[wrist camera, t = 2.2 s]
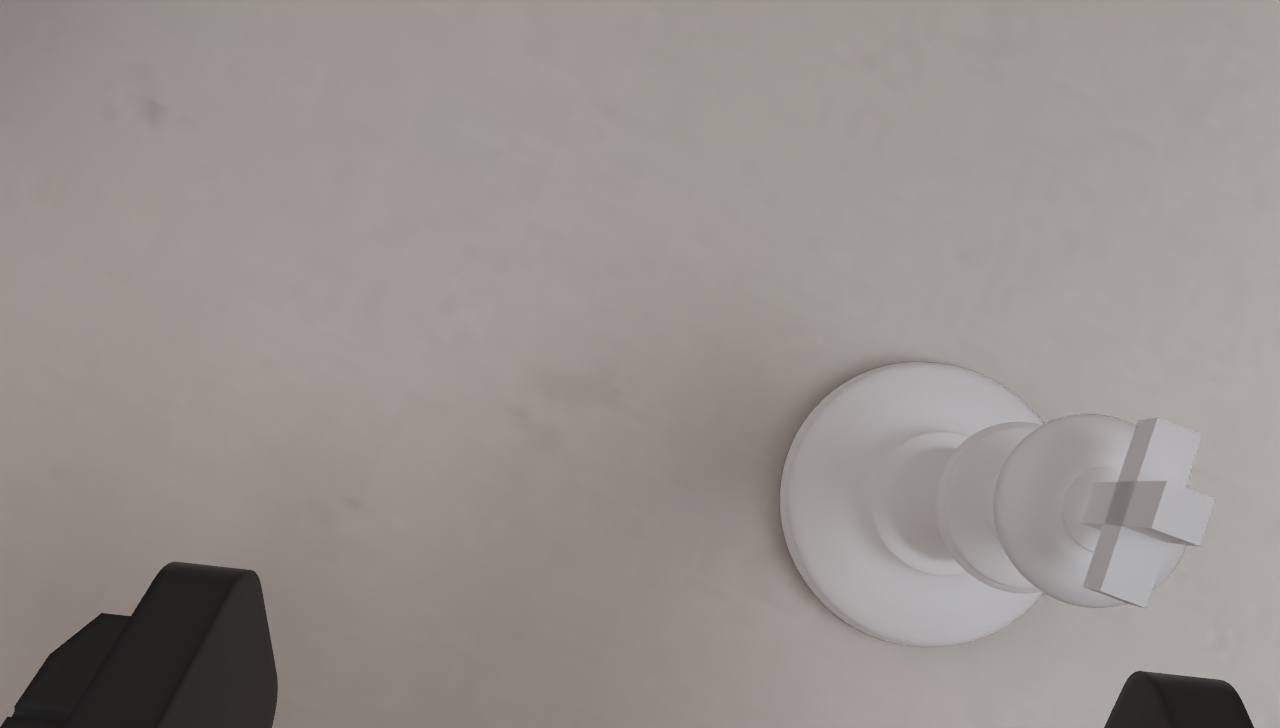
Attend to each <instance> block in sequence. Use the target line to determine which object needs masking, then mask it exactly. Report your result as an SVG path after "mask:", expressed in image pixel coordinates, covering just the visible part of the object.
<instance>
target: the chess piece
mask: <svg viewBox="0 0 1280 728" xmlns="http://www.w3.org/2000/svg"><path fill="white" fill-rule="evenodd" d="M1202 436H1203V434H1201V433H1198V432H1196V431H1193V430H1190V429H1187V428H1185V427H1182V426H1179V425H1176V424H1174V423H1171V422H1168V421H1165V420H1163V419H1160V418H1152V419H1145V420H1138V422H1137V425H1136V426H1135V425H1133V424H1131V423H1129V422H1127V421H1124V420H1121V419H1118V418H1115V417H1111V416H1105V415H1098V414H1079V415H1072V416H1066V417H1062V418H1059V419H1056V420H1053V421H1051V422H1049V423H1046V424H1043V423H1042V421H1041V420H1040V419H1039V417H1038V416H1037V415H1036V414H1035V413H1034V412H1033V411H1032V409H1031V408H1030V407H1029V406H1028V405H1027V404H1026V403H1025V402H1024V401H1022V400H1021V399H1020V398H1019V397H1018V396H1017V395H1015V394H1014V393H1013V392H1011V391H1010V390H1009V389H1007V388H1006V387H1004V386H1003V385H1001V384H999V383H998V382H996V381H994V380H992V379H990V378H988V377H986V376H984V375H982V374H979V373H977V372H974V371H971V370H968V369H965V368H961V367H957V366H952V365H946V364H938V363H929V362H908V363H898V364H892V365H887V366H883V367H879V368H876V369H873V370H870V371H867V372H865V373H863V374H860V375H858V376H856V377H854V378H852V379H850V380H849V381H847V382H845V383H844V384H842V385H841V386H839V387H838V388H836V389H835V390H834V391H832V392H831V393H830V394H829V395H828V396H826V397H825V398H824V399H823V400H822V401H821V402H820V403H819V404H818V405H817V406H816V407H815V408H814V410H813V411H812V412H811V413H810V414H809V416H808V417H807V418H806V420H805V421H804V423H803V424H802V426H801V427H800V429H799V431H798V432H797V434H796V436H795V438H794V440H793V442H792V444H791V447H790V449H789V452H788V455H787V458H786V461H785V465H784V469H783V474H782V480H781V487H780V513H781V522H782V527H783V532H784V536H785V540H786V543H787V546H788V549H789V552H790V554H791V557H792V559H793V561H794V563H795V565H796V567H797V569H798V571H799V573H800V575H801V576H802V578H803V579H804V581H805V582H806V584H807V585H808V587H809V588H810V589H811V590H812V592H813V593H814V594H815V595H816V597H817V598H818V599H819V600H820V601H821V602H822V603H823V604H824V605H825V606H826V607H827V608H828V609H829V610H831V611H832V612H833V613H834V614H835V615H836V616H838V617H839V618H840V619H842V620H843V621H845V622H846V623H848V624H849V625H851V626H853V627H854V628H856V629H858V630H860V631H862V632H864V633H866V634H868V635H871V636H873V637H876V638H878V639H881V640H884V641H888V642H892V643H896V644H901V645H908V646H918V647H934V646H950V645H957V644H963V643H967V642H971V641H974V640H977V639H980V638H983V637H986V636H988V635H990V634H993V633H995V632H997V631H998V630H1000V629H1002V628H1004V627H1006V626H1007V625H1009V624H1010V623H1012V622H1013V621H1015V620H1016V619H1017V618H1019V617H1020V616H1021V615H1022V614H1024V613H1025V612H1026V611H1027V610H1028V609H1029V608H1030V607H1031V606H1032V605H1033V604H1034V603H1035V602H1036V601H1037V600H1038V599H1039V597H1040V596H1041V595H1042V594H1043V592H1044V593H1045V594H1047V595H1049V596H1051V597H1053V598H1055V599H1057V600H1060V601H1062V602H1065V603H1068V604H1072V605H1076V606H1081V607H1089V608H1105V607H1114V606H1119V605H1123V604H1131V605H1135V606H1139V607H1143V608H1147V605H1148V602H1149V599H1150V595H1151V592H1152V591H1153V590H1154V589H1156V588H1157V587H1158V586H1159V585H1161V584H1162V583H1163V582H1164V581H1165V580H1166V579H1167V578H1168V577H1169V576H1170V574H1171V573H1172V572H1173V570H1174V569H1175V568H1176V566H1177V564H1178V563H1179V561H1180V559H1181V557H1182V555H1183V553H1184V551H1185V548H1186V545H1192V546H1201V543H1202V539H1203V536H1204V533H1205V530H1206V527H1207V524H1208V521H1209V518H1210V515H1211V512H1212V508H1213V505H1214V502H1215V498H1213V497H1210V496H1207V495H1205V494H1202V493H1199V492H1196V491H1194V490H1191V489H1188V488H1187V482H1188V479H1189V476H1190V473H1191V470H1192V467H1193V464H1194V460H1195V457H1196V454H1197V451H1198V448H1199V445H1200V442H1201V439H1202Z"/></svg>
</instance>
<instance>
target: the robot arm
mask: <svg viewBox="0 0 1280 728" xmlns="http://www.w3.org/2000/svg"><path fill="white" fill-rule="evenodd" d="M277 691H278V682H277V672H276V667H275V661H274V656H273V650H272V644H271V639H270V633H269V627H268V622H267V616H266V611H265V605H264V599H263V594H262V588H261V584H260V580H259V577H258V575H257V574H256V573H255V572H254V571H252V570H246V569H236V568H227V567H218V566H209V565H200V564H191V563H182V562H171V563H169V564H167V565H166V566H164V567H163V568H162V569H161V570H160V572H159V573H158V574H157V576H156V577H155V579H154V580H153V582H152V583H151V585H150V587H149V588H148V590H147V591H146V593H145V595H144V596H143V598H142V599H141V601H140V603H139V604H138V606H137V608H136V609H135V611H134V612H133V614H132V616H123V615H114V614H105V613H101V614H100V615H99V616H97V617H96V618H95V619H94V620H92V621H91V622H90V623H89V624H87V625H86V626H85V627H84V628H82V629H81V630H80V631H79V632H77V633H76V634H75V635H74V636H72V637H71V638H70V639H69V640H67V641H66V642H65V643H64V644H62V645H61V646H60V647H59V648H57V649H56V650H55V651H54V652H52V653H51V654H50V655H49V656H48V658H47V659H46V661H45V662H44V664H43V665H42V666H41V668H40V669H39V671H38V672H37V674H36V675H35V677H34V678H33V680H32V681H31V683H30V684H29V686H28V687H27V689H26V690H25V692H24V693H23V695H22V696H21V698H20V699H19V700H18V702H17V703H16V705H15V706H14V707H15V711H14V714H13V716H12V717H7V718H6V720H5V721H4V723H3V724H2V726H1V727H0V728H272V724H273V720H274V715H275V710H276V703H277ZM1104 728H1254V727H1253V725H1252V722H1251V720H1250V718H1249V716H1248V713H1247V711H1246V709H1245V707H1244V704H1243V702H1242V700H1241V698H1240V697H1239V695H1238V693H1237V692H1236V690H1235V689H1234V688H1233V687H1232V686H1231V685H1230V684H1229V683H1227V682H1225V681H1223V680H1216V679H1207V678H1198V677H1189V676H1180V675H1170V674H1161V673H1152V672H1143V671H1138V672H1135V673H1133V674H1132V675H1131V676H1130V677H1129V678H1128V679H1127V681H1126V683H1125V684H1124V687H1123V689H1122V691H1121V693H1120V695H1119V697H1118V699H1117V701H1116V704H1115V706H1114V708H1113V710H1112V712H1111V714H1110V716H1109V718H1108V721H1107V723H1106V725H1105V727H1104Z"/></svg>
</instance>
